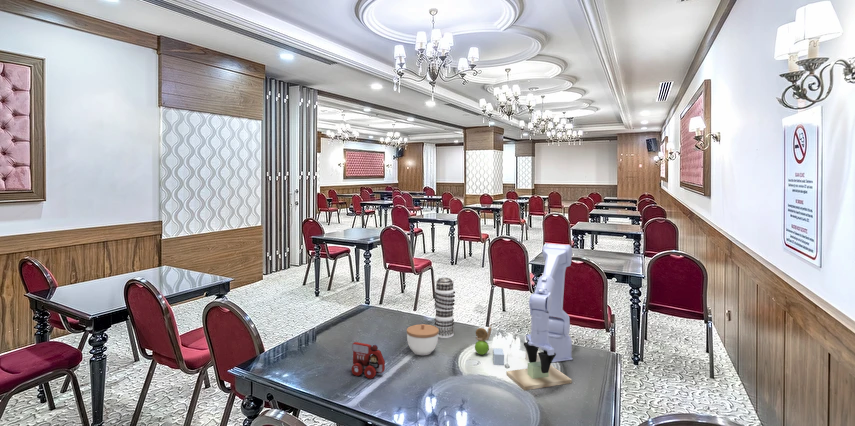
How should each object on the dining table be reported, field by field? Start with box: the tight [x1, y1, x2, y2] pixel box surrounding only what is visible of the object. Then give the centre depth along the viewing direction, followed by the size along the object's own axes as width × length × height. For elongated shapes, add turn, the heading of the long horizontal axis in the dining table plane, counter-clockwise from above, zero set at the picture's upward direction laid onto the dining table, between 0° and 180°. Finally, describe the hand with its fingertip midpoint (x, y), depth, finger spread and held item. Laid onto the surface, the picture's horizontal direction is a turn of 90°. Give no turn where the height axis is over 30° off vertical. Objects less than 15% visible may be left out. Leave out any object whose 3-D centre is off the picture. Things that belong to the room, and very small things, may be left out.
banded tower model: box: [433, 277, 456, 339], centre depth 188 cm, size 9×9×25 cm
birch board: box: [505, 364, 573, 391], centre depth 146 cm, size 18×12×1 cm, turn 108°
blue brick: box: [492, 347, 505, 366], centre depth 161 cm, size 6×4×4 cm, turn 176°
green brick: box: [527, 361, 549, 379], centre depth 146 cm, size 6×4×4 cm, turn 107°
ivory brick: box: [524, 350, 540, 362], centre depth 161 cm, size 6×4×4 cm, turn 27°
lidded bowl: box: [406, 323, 439, 356], centre depth 169 cm, size 13×13×11 cm
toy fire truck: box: [350, 341, 386, 380], centre depth 149 cm, size 7×12×10 cm, turn 68°
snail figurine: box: [474, 324, 493, 356], centre depth 167 cm, size 5×6×12 cm
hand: (538, 367), depth 146 cm, fingers open, 7 cm apart
